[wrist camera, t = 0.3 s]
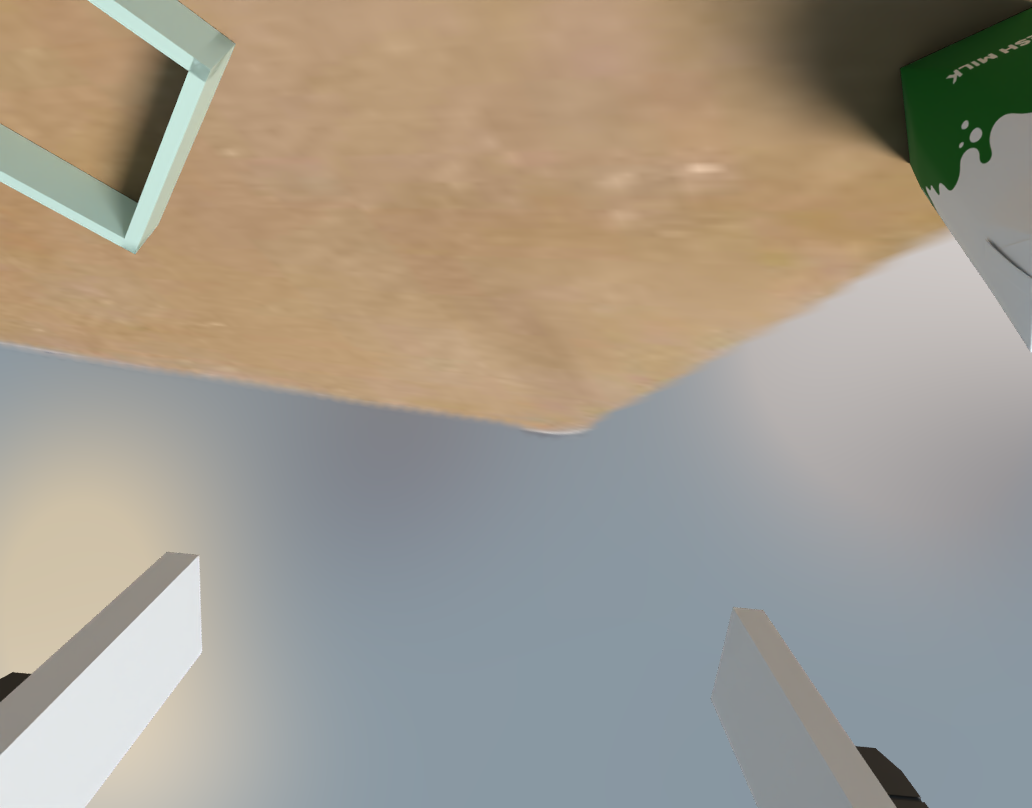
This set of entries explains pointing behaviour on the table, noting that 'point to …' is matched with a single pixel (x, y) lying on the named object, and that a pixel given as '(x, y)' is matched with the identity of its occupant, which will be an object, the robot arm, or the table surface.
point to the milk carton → (980, 153)
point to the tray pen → (204, 53)
